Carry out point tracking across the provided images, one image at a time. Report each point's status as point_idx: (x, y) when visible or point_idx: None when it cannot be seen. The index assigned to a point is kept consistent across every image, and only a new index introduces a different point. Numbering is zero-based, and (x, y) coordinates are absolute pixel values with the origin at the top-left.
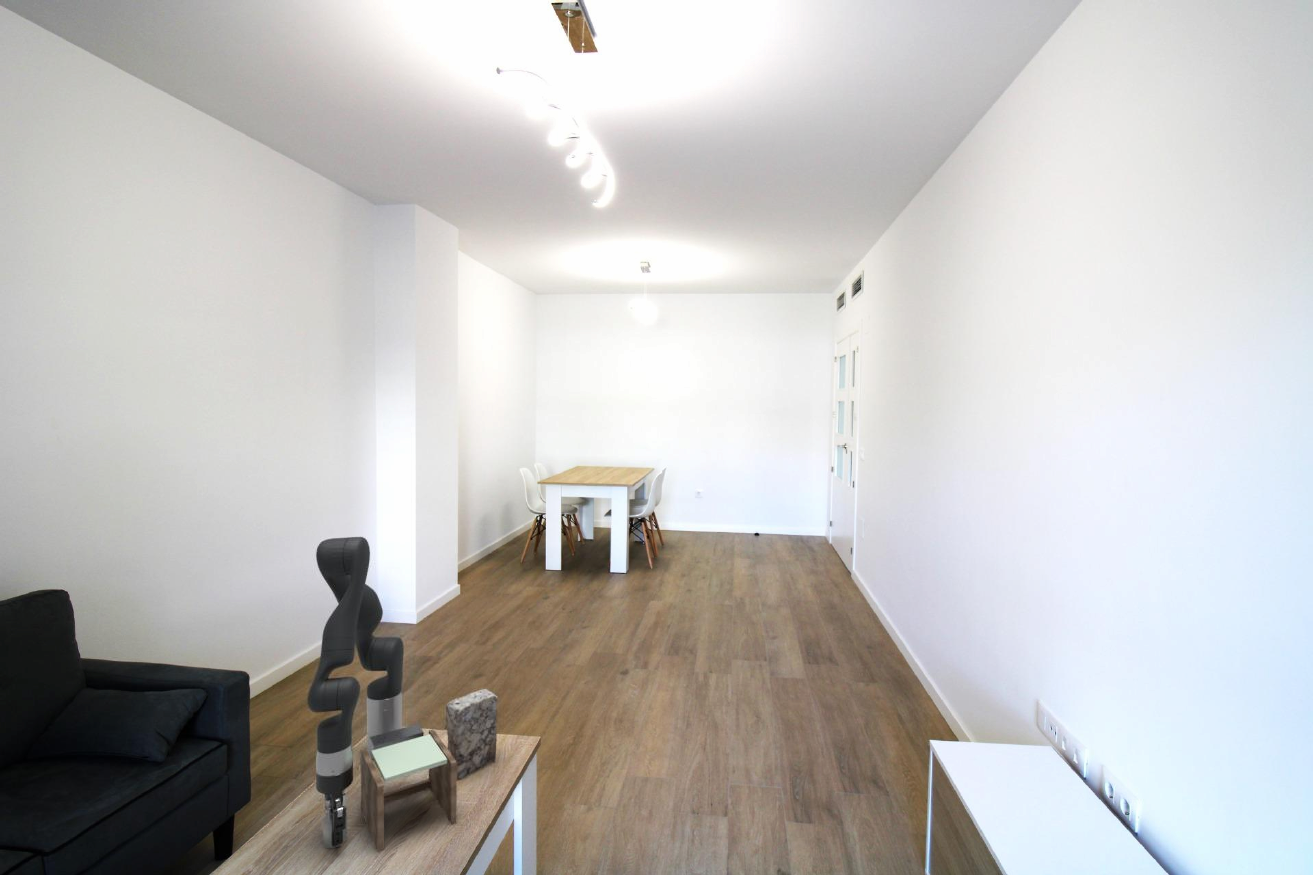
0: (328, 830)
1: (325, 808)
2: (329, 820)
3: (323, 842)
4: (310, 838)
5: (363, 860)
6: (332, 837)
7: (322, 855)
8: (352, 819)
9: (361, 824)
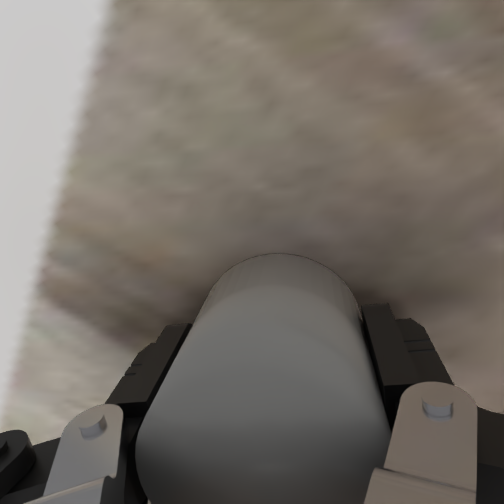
0: (171, 367)
1: (371, 485)
2: (224, 427)
3: (247, 268)
4: (401, 164)
5: (33, 441)
6: (145, 364)
7: (145, 251)
8: None
9: None
